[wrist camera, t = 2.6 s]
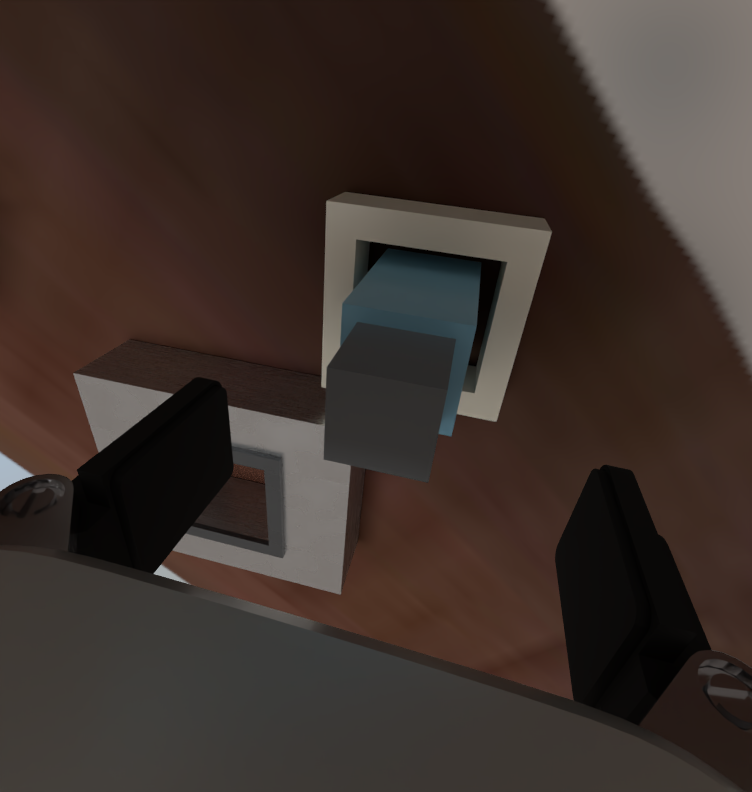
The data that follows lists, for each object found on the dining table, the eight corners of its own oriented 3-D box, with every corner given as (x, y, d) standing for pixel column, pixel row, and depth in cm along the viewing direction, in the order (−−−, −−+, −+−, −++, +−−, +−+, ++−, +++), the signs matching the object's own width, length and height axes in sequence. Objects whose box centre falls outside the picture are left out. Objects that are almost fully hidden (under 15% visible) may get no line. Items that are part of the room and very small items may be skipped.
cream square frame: (345, 191, 18) (326, 200, 16) (544, 218, 17) (552, 231, 15) (337, 362, 23) (321, 387, 20) (495, 392, 21) (496, 421, 19)
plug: (387, 248, 19) (307, 345, 11) (481, 262, 18) (473, 375, 10) (379, 333, 21) (306, 468, 13) (462, 348, 21) (443, 499, 12)
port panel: (129, 339, 25) (67, 376, 21) (373, 386, 23) (351, 436, 19) (165, 493, 31) (123, 541, 28) (357, 540, 29) (339, 599, 26)
